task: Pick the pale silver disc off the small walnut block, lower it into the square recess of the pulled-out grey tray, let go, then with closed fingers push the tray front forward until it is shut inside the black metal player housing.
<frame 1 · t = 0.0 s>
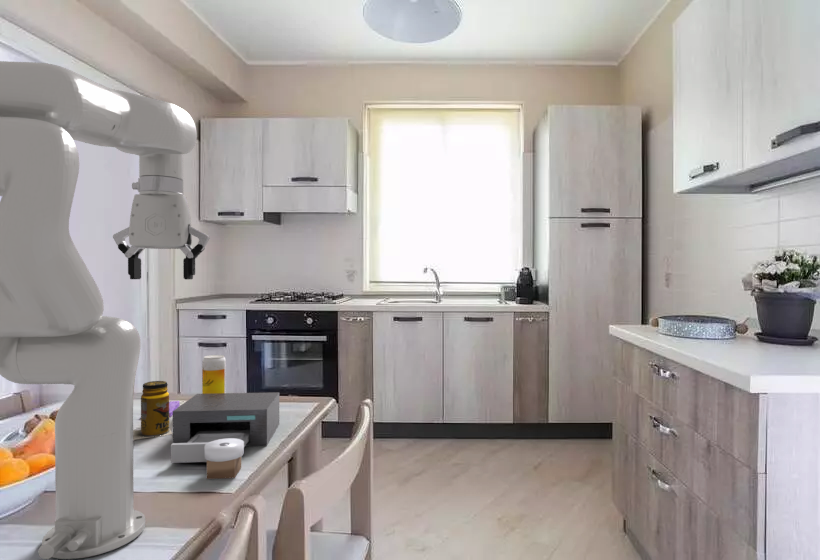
hand: (162, 279, 96), 37 cm above the table, tool pointing down, fingers open, 9 cm apart
player: (230, 435, 118), on the table
sponges: (161, 414, 138), on the table
disc: (224, 454, 95), point 4 cm above the table, touching walnut block
condiment: (151, 434, 119), on the table
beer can: (214, 411, 139), on the table
tray: (215, 439, 107), point 3 cm above the table, slide at 10.0 cm
walnut block: (224, 473, 96), on the table
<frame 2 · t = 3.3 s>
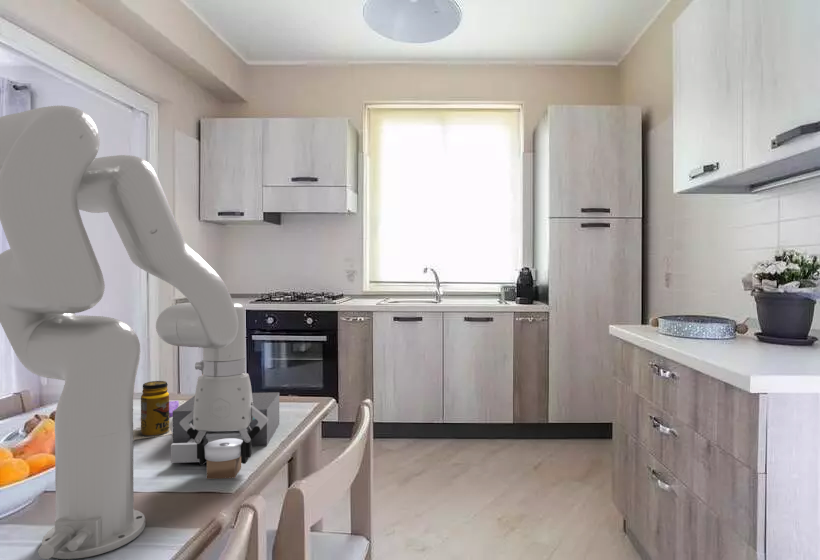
hand: (224, 461, 96), 2 cm above the table, tool pointing down, fingers closed on disc, 7 cm apart
disc: (224, 454, 95), point 4 cm above the table, touching gripper, walnut block
everything else where it was.
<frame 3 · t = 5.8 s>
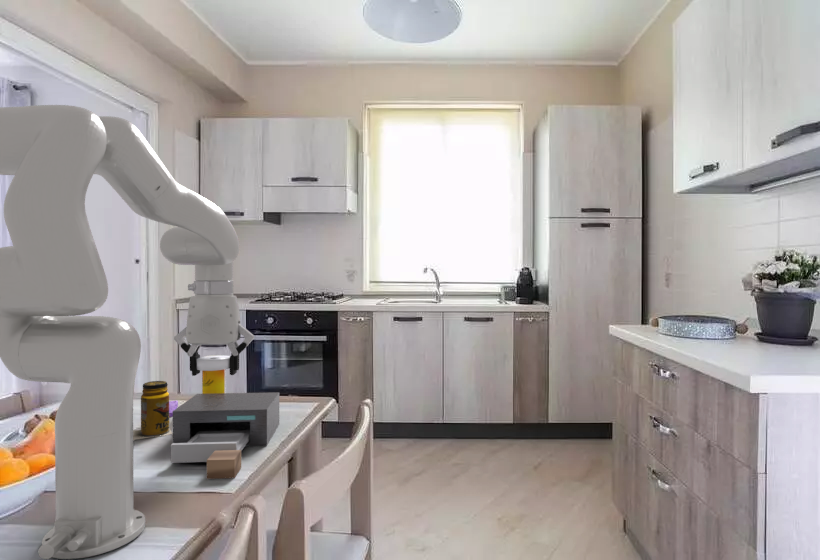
hand: (214, 373, 106), 17 cm above the table, tool pointing down, fingers closed on disc, 7 cm apart
disc: (214, 367, 106), point 18 cm above the table, touching gripper
everything else where it was.
when the fingers open (3 cm above the table, at t = 8.6 s): disc drops 2 cm, resting on tray.
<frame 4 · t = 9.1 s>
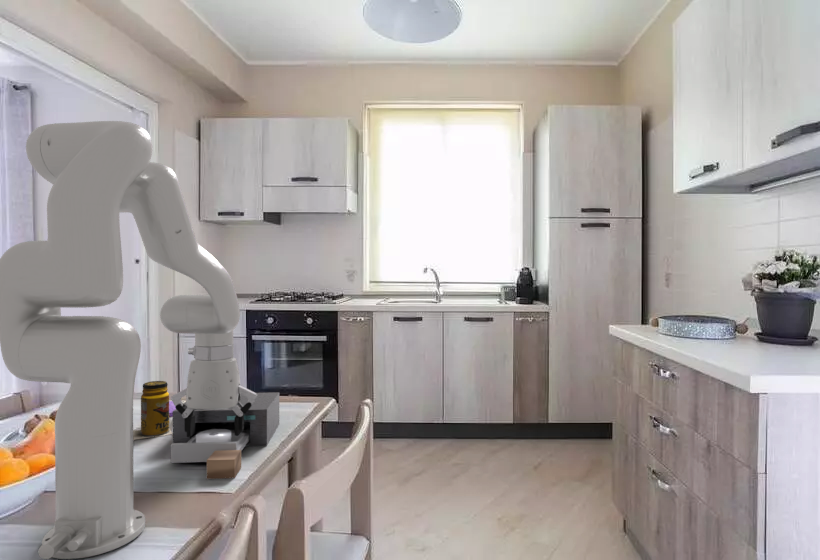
hand: (214, 434, 106), 4 cm above the table, tool pointing down, fingers open, 9 cm apart
disc: (213, 443, 106), point 2 cm above the table, touching tray
tray: (215, 439, 107), point 3 cm above the table, slide at 10.0 cm, touching disc
everything else where it was.
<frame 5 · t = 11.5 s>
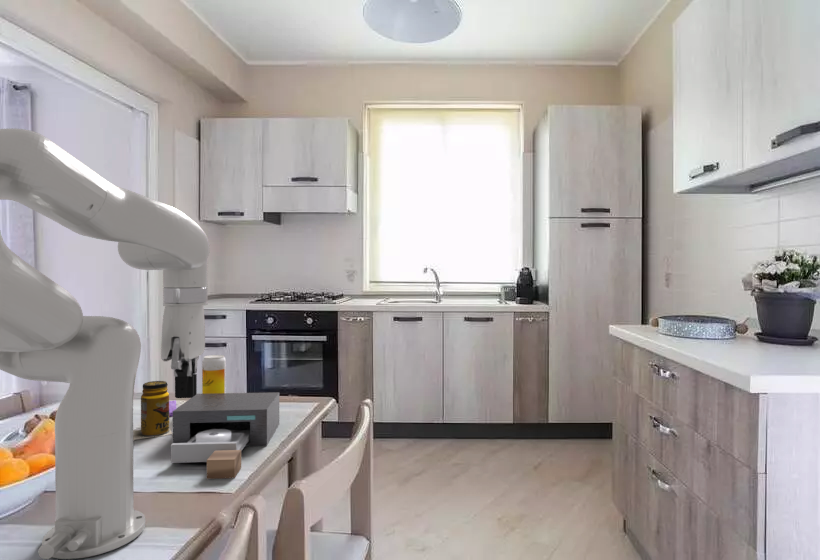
hand: (185, 396, 93), 15 cm above the table, tool pointing down, fingers closed
nothing on the table moved.
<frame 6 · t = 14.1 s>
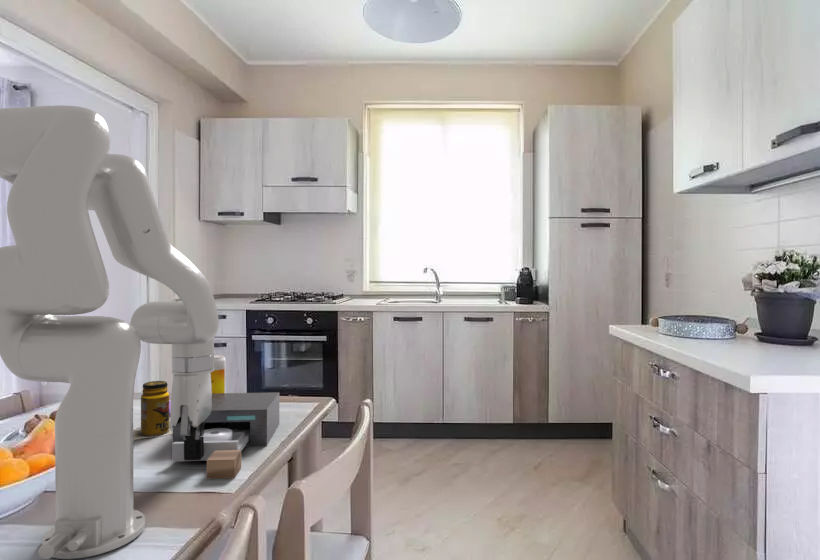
hand: (194, 458, 98), 2 cm above the table, tool pointing down, fingers closed
tray: (216, 438, 108), point 3 cm above the table, slide at 9.2 cm, touching disc, gripper
everything else where it was.
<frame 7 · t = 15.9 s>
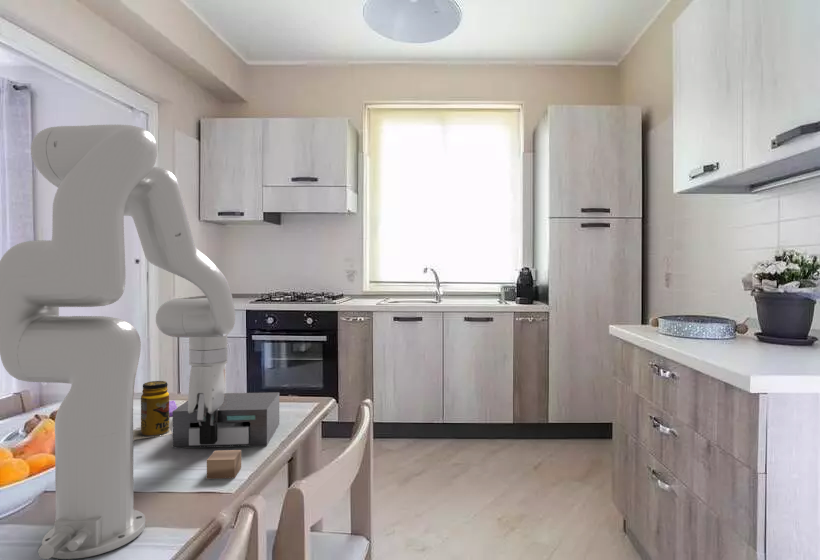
hand: (208, 443, 107), 2 cm above the table, tool pointing down, fingers closed
disc: (226, 428, 116), point 2 cm above the table, touching tray
tray: (228, 425, 117), point 3 cm above the table, slide at 0.0 cm, touching disc
everything else where it was.
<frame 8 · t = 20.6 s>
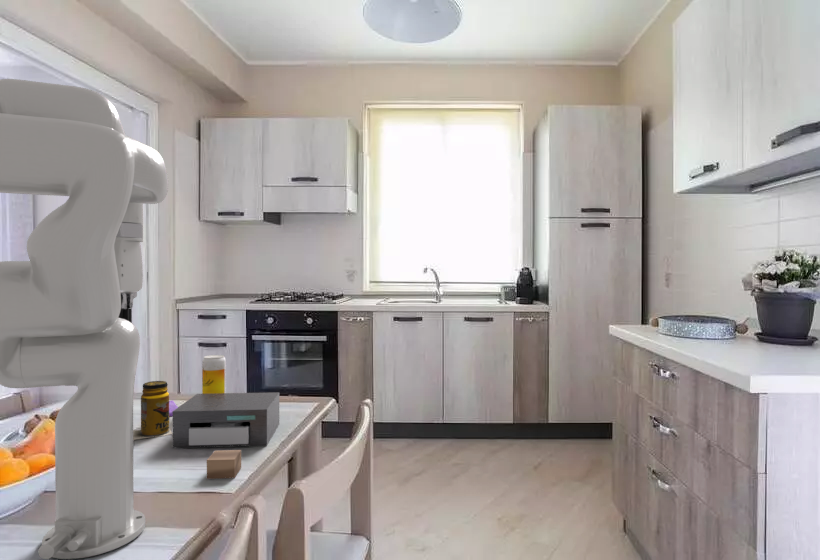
hand: (121, 329, 96), 27 cm above the table, tool pointing down, fingers closed
at the end: tray slide at 0.0 cm; disc inside the target area on the player (2.0 cm from its centre), point 2.1 cm above the player's base; disc tilted 0° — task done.
